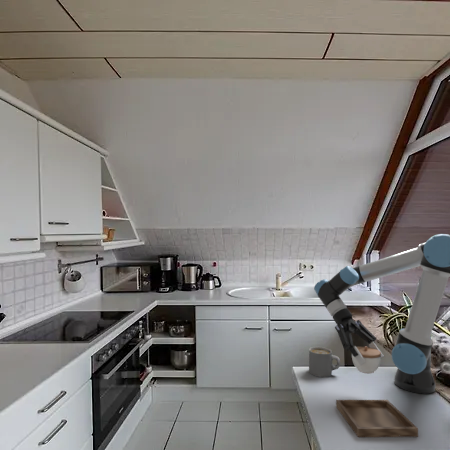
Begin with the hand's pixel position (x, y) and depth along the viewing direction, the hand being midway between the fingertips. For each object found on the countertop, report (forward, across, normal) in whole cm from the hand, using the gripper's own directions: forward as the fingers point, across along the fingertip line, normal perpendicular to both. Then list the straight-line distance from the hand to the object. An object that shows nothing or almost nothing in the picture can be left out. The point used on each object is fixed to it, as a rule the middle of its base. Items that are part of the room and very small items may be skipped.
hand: (372, 360), depth 137 cm
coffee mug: (-8, -2, -28) cm, 30 cm away
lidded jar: (+1, 0, -6) cm, 6 cm away
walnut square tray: (+18, +15, -2) cm, 23 cm away
